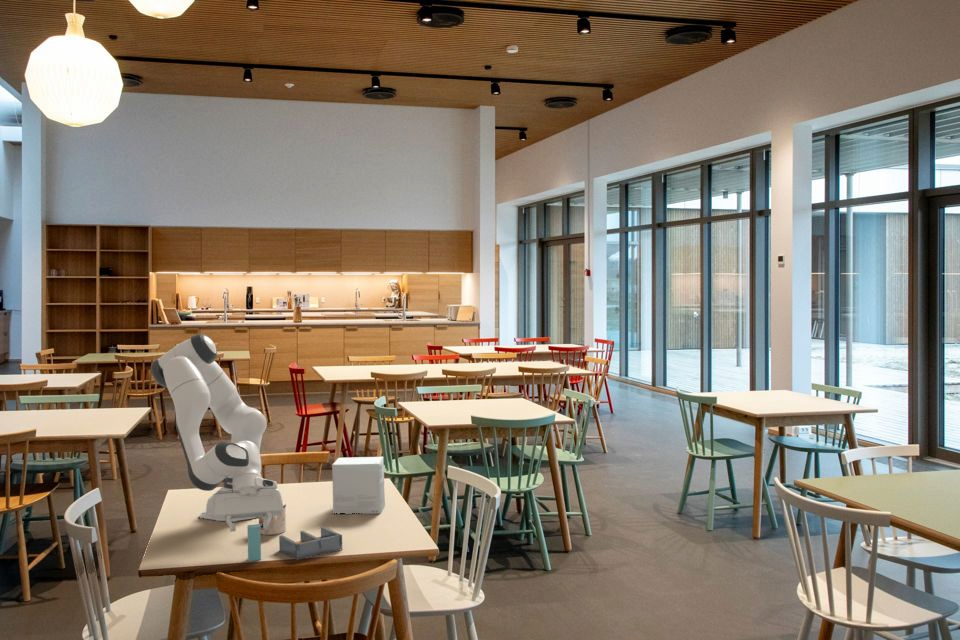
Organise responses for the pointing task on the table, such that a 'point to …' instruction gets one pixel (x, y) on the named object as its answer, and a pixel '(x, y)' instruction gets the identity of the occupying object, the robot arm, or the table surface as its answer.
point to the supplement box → (358, 485)
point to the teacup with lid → (274, 523)
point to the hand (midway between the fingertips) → (249, 529)
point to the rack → (311, 544)
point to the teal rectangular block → (254, 542)
